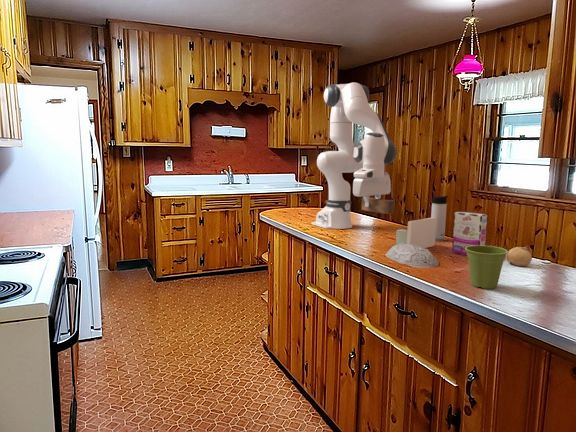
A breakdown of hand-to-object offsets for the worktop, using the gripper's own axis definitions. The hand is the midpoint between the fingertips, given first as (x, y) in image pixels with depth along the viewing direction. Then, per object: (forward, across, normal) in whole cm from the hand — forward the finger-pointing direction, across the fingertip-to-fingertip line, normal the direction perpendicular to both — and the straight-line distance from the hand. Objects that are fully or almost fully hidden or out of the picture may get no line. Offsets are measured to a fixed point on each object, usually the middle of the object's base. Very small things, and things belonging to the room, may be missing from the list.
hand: (371, 206), depth 184 cm
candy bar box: (+17, -18, +34) cm, 42 cm away
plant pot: (+17, +15, +57) cm, 61 cm away
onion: (+17, -19, +53) cm, 58 cm away
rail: (+2, 0, +3) cm, 4 cm away
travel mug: (+17, -34, +10) cm, 40 cm away
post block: (+17, -13, +12) cm, 25 cm away
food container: (+17, +6, +24) cm, 31 cm away
